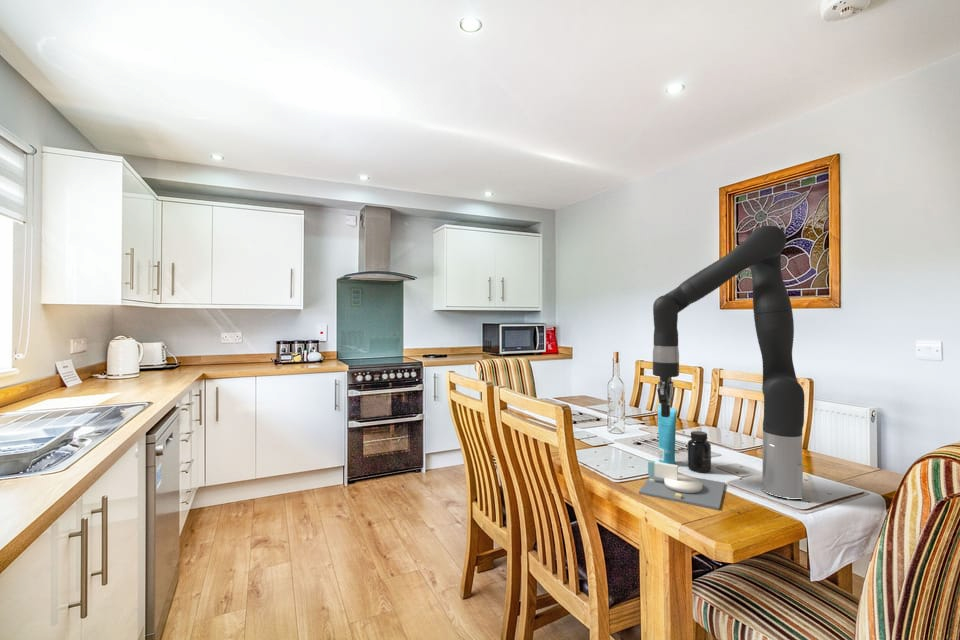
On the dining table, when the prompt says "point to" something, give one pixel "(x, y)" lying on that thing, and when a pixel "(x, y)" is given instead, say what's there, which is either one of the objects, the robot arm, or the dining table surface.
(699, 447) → the supplement bottle
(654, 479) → the dial board
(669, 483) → the dial
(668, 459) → the tube
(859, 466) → the dining table surface
